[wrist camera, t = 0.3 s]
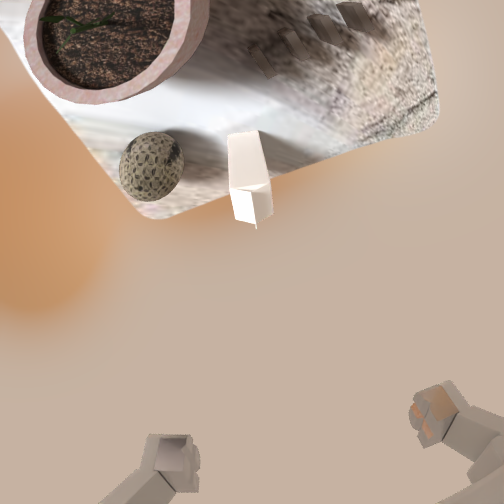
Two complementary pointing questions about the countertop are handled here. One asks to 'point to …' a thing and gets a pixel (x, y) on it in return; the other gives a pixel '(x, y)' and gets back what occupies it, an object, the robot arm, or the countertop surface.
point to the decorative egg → (151, 166)
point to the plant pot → (110, 45)
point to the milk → (249, 178)
